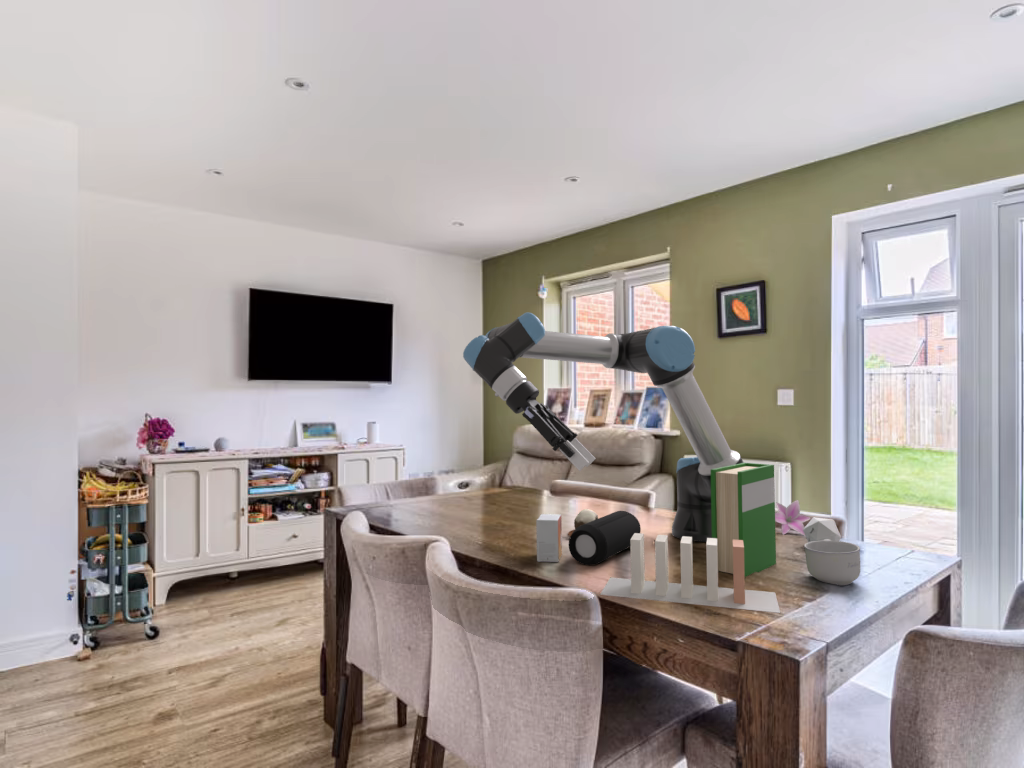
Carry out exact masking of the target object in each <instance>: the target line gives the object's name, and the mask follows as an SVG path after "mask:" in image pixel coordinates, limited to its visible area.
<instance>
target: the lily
mask: <svg viewBox="0 0 1024 768" xmlns="http://www.w3.org/2000/svg"><path fill="white" fill-rule="evenodd" d="M775 507H776V508H777V512H776V511H775V523H779V524H781V534H782V535H786V534H787V533H789V531H791V529H792V530H794V531H795V532H797V533H799V534H801V535H802V536H805V534H804V531H803V529H804V528H805V525H804V523H805V522H809V520H811V519H812V518H811V517H810V516H808V515H805V514H802V513H801V506H800V501H799V500H798V499H796V500H794V501H792V502H791V503H790V504H789V505H787V506H785V505H783V504H781V503H780V502H776V501H775ZM805 537H806V536H805Z"/></svg>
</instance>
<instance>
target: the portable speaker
mask: <svg viewBox="0 0 1024 768" xmlns="http://www.w3.org/2000/svg"><path fill="white" fill-rule="evenodd" d="M573 530H574V531H573V533H572V535H571V537H570V536H569V539H568V550H569V554H570V555H571V557H572V558H573V559H574V560H575V561H576V562H578V563H579V564H582V565H586V566H587V565H588V566H593V565H594V566H595V565H598V564H600V563H602V562H604V561H606V560H608V559H609V558H611V557H613V556H615V555H616V554H619V553H620V552H622V551H625V550H626V549H628V548H631V544H630V539H631V538H632V536H633V535H634V533H641V530H642V529H641V524H640V521H639V520H638V518H637V517H636V516H635V515H634V514H632V513H630V512H628V511H626V510H616V511H614V512H612V513H609V514H607V515H603V516H602V517H598V519H596V520H593V521H591V522H588V523H586V524H583V525H581V526H579V527H577V528H576V529H575V528H574V529H573Z"/></svg>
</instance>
